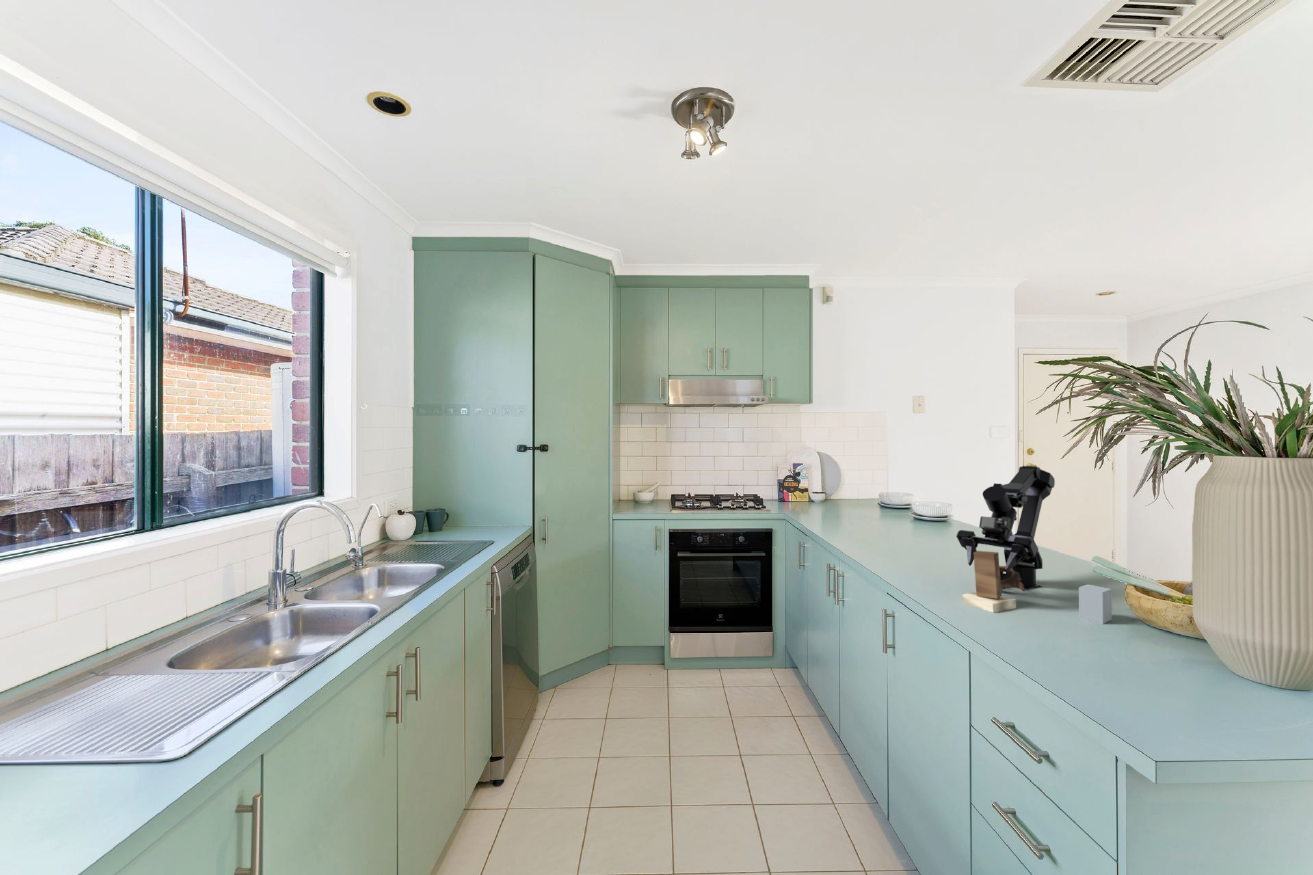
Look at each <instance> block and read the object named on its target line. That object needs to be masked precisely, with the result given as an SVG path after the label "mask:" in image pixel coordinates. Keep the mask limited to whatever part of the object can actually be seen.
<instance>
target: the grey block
mask: <svg viewBox="0 0 1313 875" xmlns="http://www.w3.org/2000/svg"><path fill="white" fill-rule="evenodd" d="M1112 609H1113V608H1112V588H1108V587H1102V586H1098V585H1094V584H1093V585H1092V584H1085V585H1081V586H1079V587H1078V618H1079V619H1081V620H1085V621H1088V622H1092V621H1093V623H1096V624H1100V623H1102V624H1101V625H1104V624H1106V622H1107V621H1109V622H1110V620H1111V619H1112V620H1113V616H1112V615H1113V614H1112V611H1113V610H1112ZM1112 620H1111V621H1112ZM1103 623H1104V624H1103ZM1107 623H1108V622H1107Z"/></svg>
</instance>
